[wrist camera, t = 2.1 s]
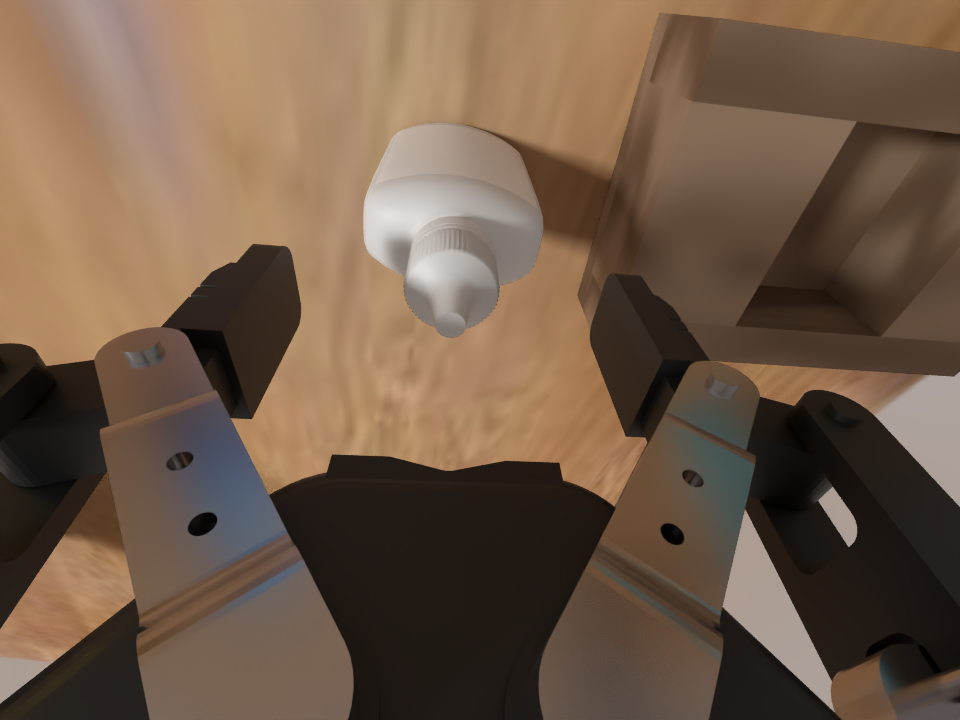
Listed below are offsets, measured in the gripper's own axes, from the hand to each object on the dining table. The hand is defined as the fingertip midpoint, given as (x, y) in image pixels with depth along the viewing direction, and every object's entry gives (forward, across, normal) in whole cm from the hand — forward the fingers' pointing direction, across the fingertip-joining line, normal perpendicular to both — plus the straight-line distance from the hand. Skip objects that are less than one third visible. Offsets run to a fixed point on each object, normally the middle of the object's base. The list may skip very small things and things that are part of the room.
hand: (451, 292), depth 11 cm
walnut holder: (+10, -16, 0) cm, 19 cm away
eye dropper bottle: (+10, 0, 0) cm, 10 cm away
